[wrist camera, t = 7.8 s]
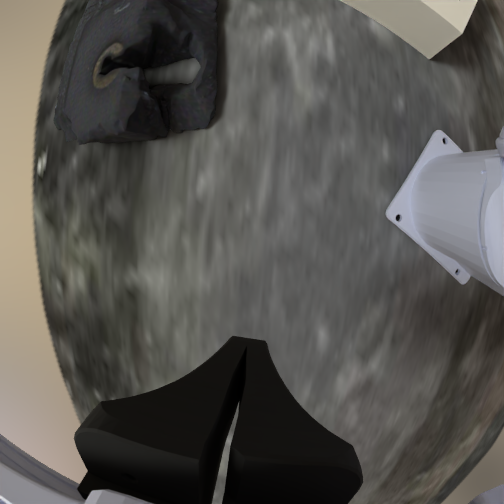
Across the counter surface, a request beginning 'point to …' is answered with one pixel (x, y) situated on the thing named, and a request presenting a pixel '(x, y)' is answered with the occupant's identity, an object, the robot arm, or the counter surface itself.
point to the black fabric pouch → (137, 70)
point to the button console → (420, 20)
